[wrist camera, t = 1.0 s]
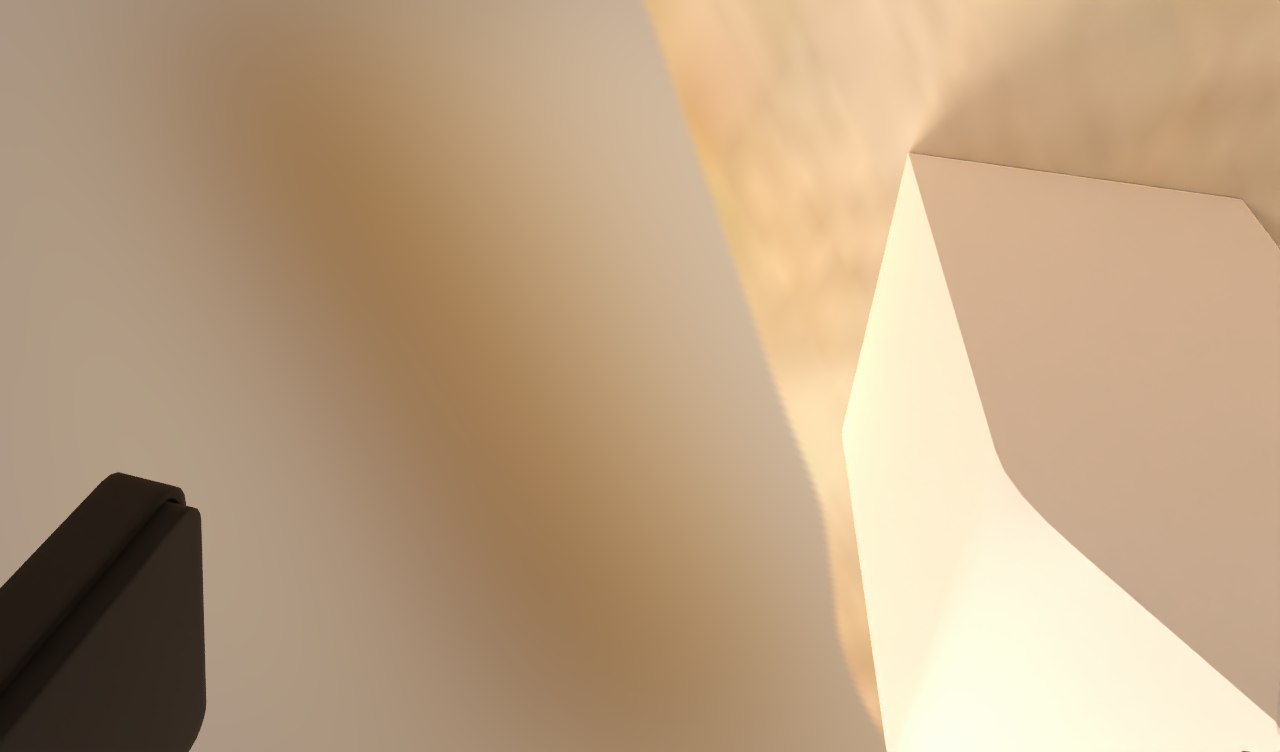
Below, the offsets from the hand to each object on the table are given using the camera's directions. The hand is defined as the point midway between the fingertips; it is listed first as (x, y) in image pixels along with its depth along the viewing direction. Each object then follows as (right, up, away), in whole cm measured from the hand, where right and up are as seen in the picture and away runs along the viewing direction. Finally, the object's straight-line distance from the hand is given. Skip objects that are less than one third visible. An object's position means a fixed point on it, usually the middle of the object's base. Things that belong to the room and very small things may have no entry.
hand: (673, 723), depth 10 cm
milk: (+14, +5, +31) cm, 34 cm away
